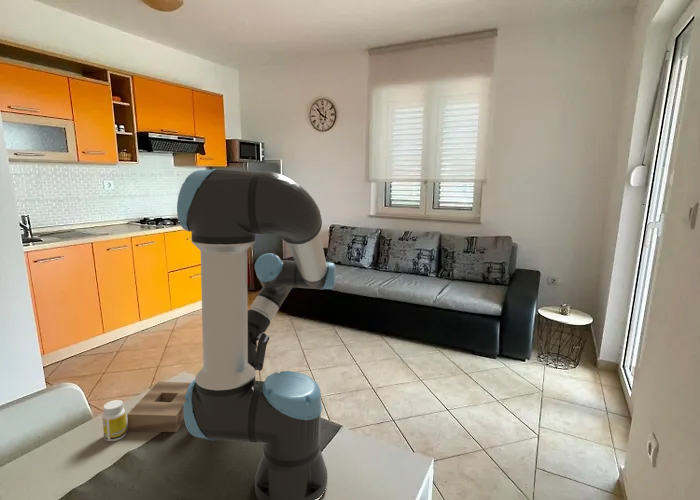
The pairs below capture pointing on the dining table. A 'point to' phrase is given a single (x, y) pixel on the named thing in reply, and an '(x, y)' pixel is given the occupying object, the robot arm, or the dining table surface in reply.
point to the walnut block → (160, 408)
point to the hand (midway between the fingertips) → (218, 383)
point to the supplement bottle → (114, 421)
